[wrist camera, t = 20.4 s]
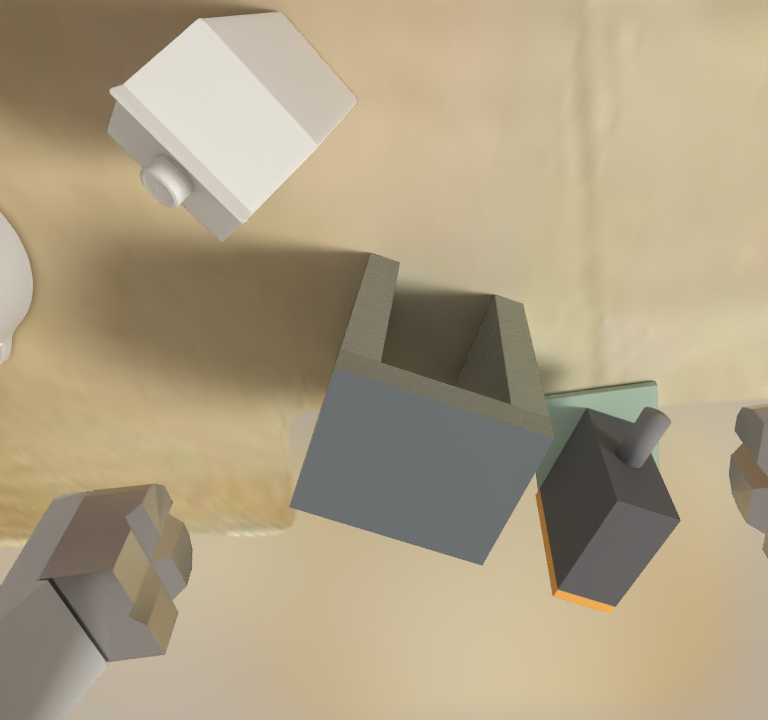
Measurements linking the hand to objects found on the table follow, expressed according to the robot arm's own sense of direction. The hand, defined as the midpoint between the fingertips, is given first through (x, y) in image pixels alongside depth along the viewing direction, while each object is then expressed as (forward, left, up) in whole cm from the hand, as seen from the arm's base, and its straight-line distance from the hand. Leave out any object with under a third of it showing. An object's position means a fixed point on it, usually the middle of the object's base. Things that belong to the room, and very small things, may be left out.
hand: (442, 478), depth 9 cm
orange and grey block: (+7, -28, -37) cm, 47 cm away
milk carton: (-11, +3, -38) cm, 40 cm away
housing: (-5, -16, -38) cm, 42 cm away
